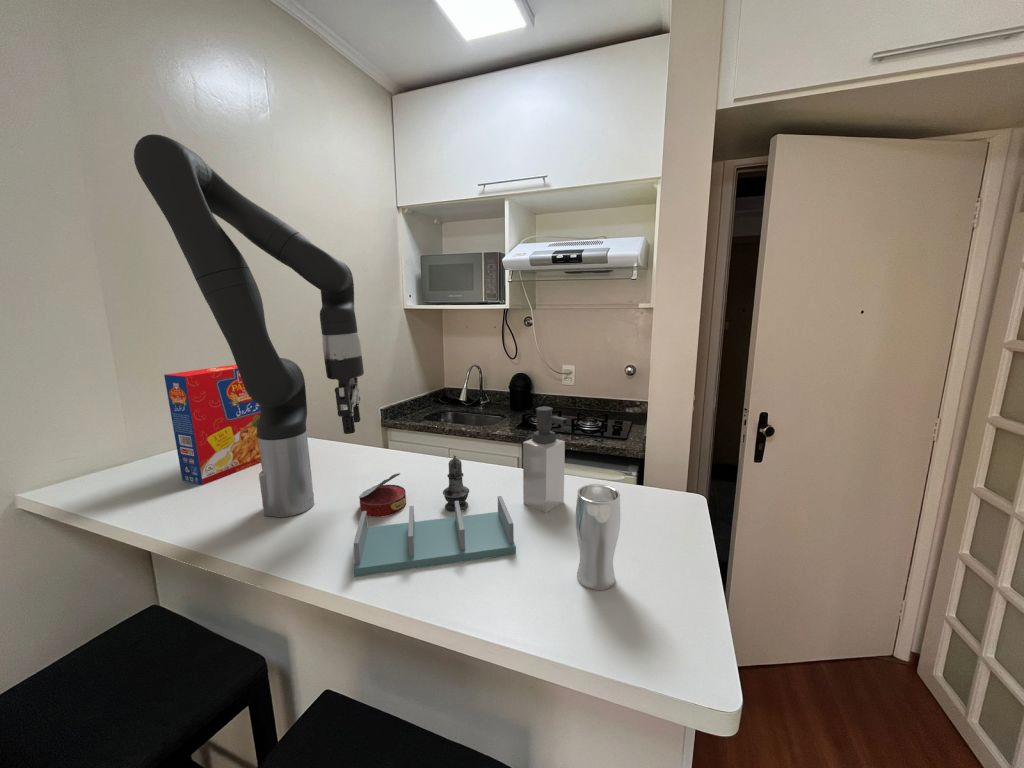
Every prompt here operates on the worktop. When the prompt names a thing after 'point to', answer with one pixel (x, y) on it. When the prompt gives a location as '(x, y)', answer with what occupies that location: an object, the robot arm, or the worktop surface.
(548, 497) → the soap dispenser
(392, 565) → the rack
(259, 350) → the robot arm
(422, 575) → the worktop surface
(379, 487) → the canned food
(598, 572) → the beer glass
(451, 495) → the grey chess piece
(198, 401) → the pasta box
